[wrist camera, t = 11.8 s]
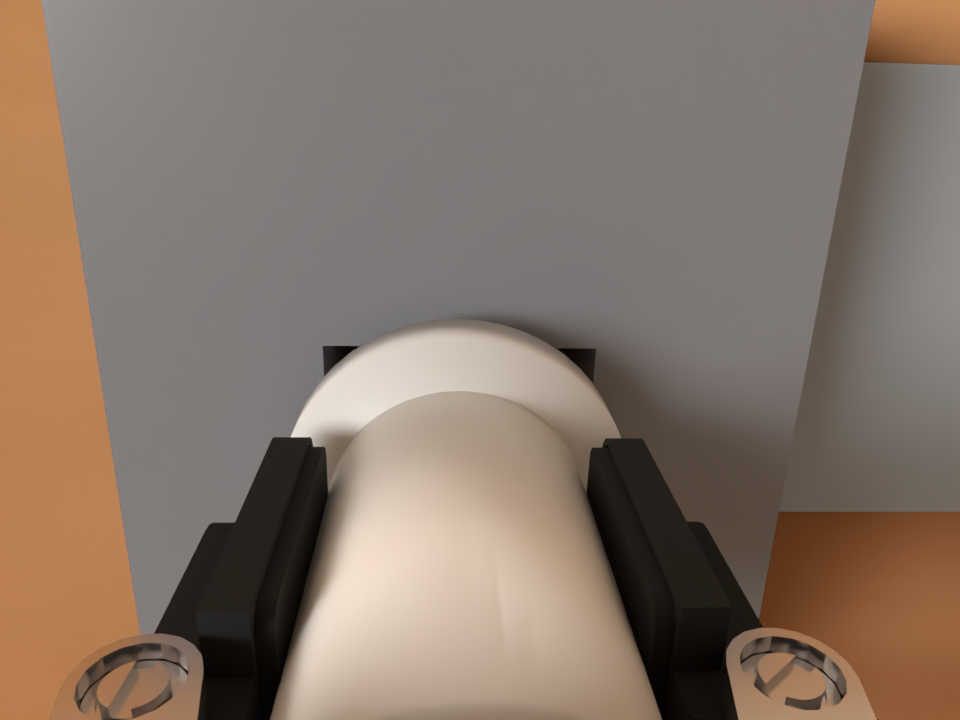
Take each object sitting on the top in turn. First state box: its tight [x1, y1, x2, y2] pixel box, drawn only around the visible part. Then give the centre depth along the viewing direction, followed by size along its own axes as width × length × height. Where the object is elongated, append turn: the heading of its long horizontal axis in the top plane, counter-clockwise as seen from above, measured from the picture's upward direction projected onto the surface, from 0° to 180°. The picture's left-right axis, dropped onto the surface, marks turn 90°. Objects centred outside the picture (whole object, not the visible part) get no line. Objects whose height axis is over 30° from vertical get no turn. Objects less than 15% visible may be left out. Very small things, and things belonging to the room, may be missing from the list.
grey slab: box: [42, 0, 875, 635], centre depth 15 cm, size 22×12×8 cm, turn 178°
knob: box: [270, 319, 662, 720], centre depth 12 cm, size 6×6×11 cm
